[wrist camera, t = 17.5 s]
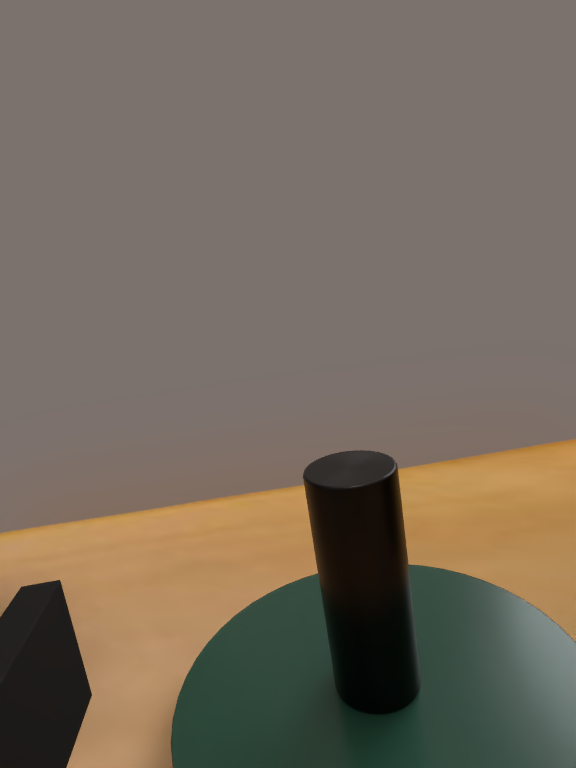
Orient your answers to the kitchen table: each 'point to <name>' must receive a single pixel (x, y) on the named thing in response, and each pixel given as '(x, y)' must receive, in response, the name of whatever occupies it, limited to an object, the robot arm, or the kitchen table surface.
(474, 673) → the pot lid
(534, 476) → the kitchen table surface
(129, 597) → the kitchen table surface
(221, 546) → the kitchen table surface
